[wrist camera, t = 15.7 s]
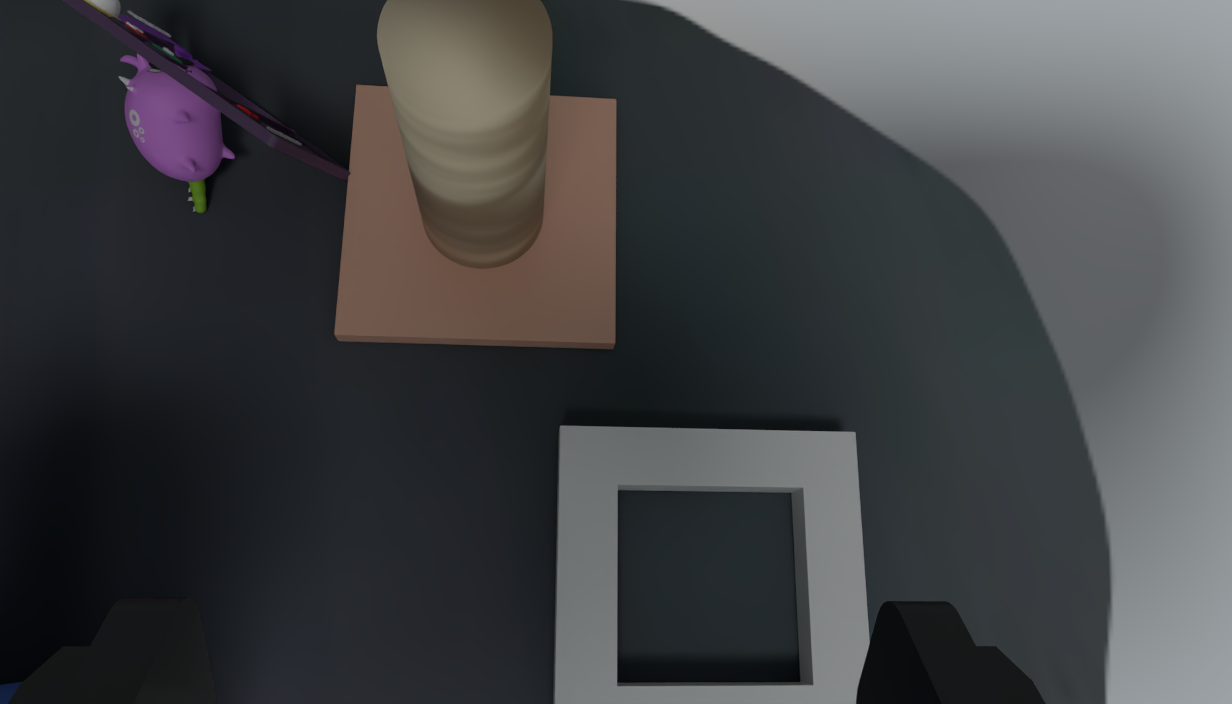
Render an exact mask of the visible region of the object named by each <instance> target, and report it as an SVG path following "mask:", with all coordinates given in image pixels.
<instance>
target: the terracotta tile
mask: <svg viewBox="0 0 1232 704" xmlns="http://www.w3.org/2000/svg"><path fill="white" fill-rule="evenodd" d="M349 172H350V173H351V174H350V175H349V176H348V187H347V198H346V209H345V220H344V232H343V243H342V254H341V265H340V277H339V288H338V299H337V310H336V322H335V333H334V335H335V337H336V338H337V340H338V341H351V342H384V343H418V344H452V345H486V346H519V347H553V348H587V349H614V346H615V314H616V99H605V98H587V97H569V96H551V95H550V99H549V118H548V138H547V157H546V176H545V195H544V214H543V223H542V227H541V231H540V233H539V235H538V237H537V239H536V241H535V242H534V244H533V245H532V246H531V248H530V249H529V250H528V251H527V252H526V253H525V254H523V255H522V256H521V257H519V258H518V259H517V260H515V261H513V262H511V263H509V264H506V265H503V266H500V267H495V268H488V269H477V268H470V267H466V266H462V265H460V264H457V263H455V262H453V261H451V260H449V259H448V258H446V257H445V256H444V255H442V254H441V253H440V252H439V251H438V250H437V249H436V248H435V247H434V246H433V244H432V243H431V242H430V240H429V238H428V236H427V234H426V232H425V229H424V226H423V222H422V218H421V214H420V210H419V206H418V202H417V198H416V194H415V190H414V186H413V182H412V178H411V174H410V170H409V166H408V162H407V159H406V155H405V151H404V147H403V143H402V139H401V135H400V131H399V127H398V123H397V119H396V115H395V111H394V107H393V103H392V99H391V95H390V92H389V88H388V87H387V86H369V85H356V97H355V108H354V119H353V130H352V142H351V153H350V164H349Z"/></svg>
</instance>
